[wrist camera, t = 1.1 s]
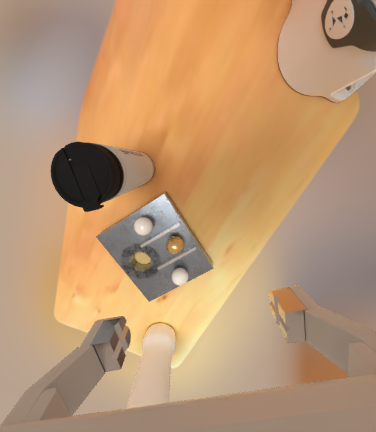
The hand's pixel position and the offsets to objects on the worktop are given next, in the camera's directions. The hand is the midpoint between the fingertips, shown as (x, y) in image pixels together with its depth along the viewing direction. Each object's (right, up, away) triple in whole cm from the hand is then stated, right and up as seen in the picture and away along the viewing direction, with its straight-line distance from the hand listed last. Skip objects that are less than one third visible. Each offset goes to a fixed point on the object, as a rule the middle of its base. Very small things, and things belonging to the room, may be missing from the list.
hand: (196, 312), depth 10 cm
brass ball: (-3, 0, +26) cm, 26 cm away
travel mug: (-10, +15, +26) cm, 32 cm away
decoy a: (-2, -7, +28) cm, 29 cm away
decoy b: (-9, +3, +25) cm, 26 cm away
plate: (-7, -2, +31) cm, 32 cm away
